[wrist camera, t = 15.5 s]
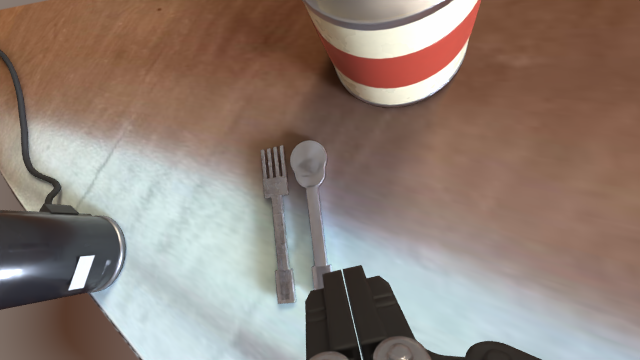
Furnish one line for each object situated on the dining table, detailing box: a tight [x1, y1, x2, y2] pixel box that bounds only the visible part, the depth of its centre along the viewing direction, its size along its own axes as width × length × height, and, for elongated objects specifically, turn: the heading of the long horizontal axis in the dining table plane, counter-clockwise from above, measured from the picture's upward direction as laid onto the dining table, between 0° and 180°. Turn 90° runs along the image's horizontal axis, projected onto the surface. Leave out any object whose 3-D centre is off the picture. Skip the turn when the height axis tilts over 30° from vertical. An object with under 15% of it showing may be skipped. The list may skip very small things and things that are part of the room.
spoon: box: [290, 140, 332, 290], centre depth 30 cm, size 16×4×1 cm, turn 7°
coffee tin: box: [302, 0, 481, 108], centre depth 24 cm, size 13×13×13 cm
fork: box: [261, 145, 296, 304], centre depth 31 cm, size 16×3×1 cm, turn 7°
